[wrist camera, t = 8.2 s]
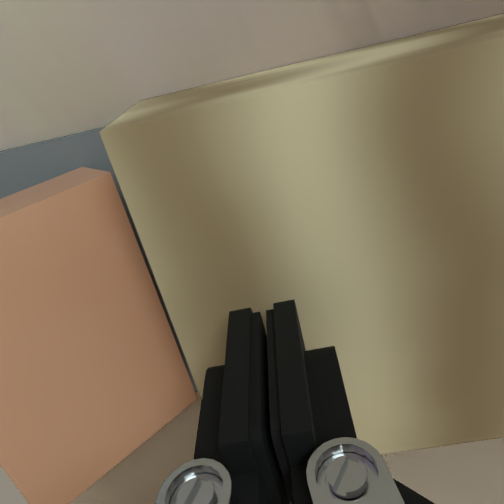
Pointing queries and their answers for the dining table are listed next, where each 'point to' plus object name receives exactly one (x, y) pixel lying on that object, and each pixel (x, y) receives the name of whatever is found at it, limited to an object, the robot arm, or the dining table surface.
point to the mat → (60, 162)
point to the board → (342, 221)
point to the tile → (78, 338)
